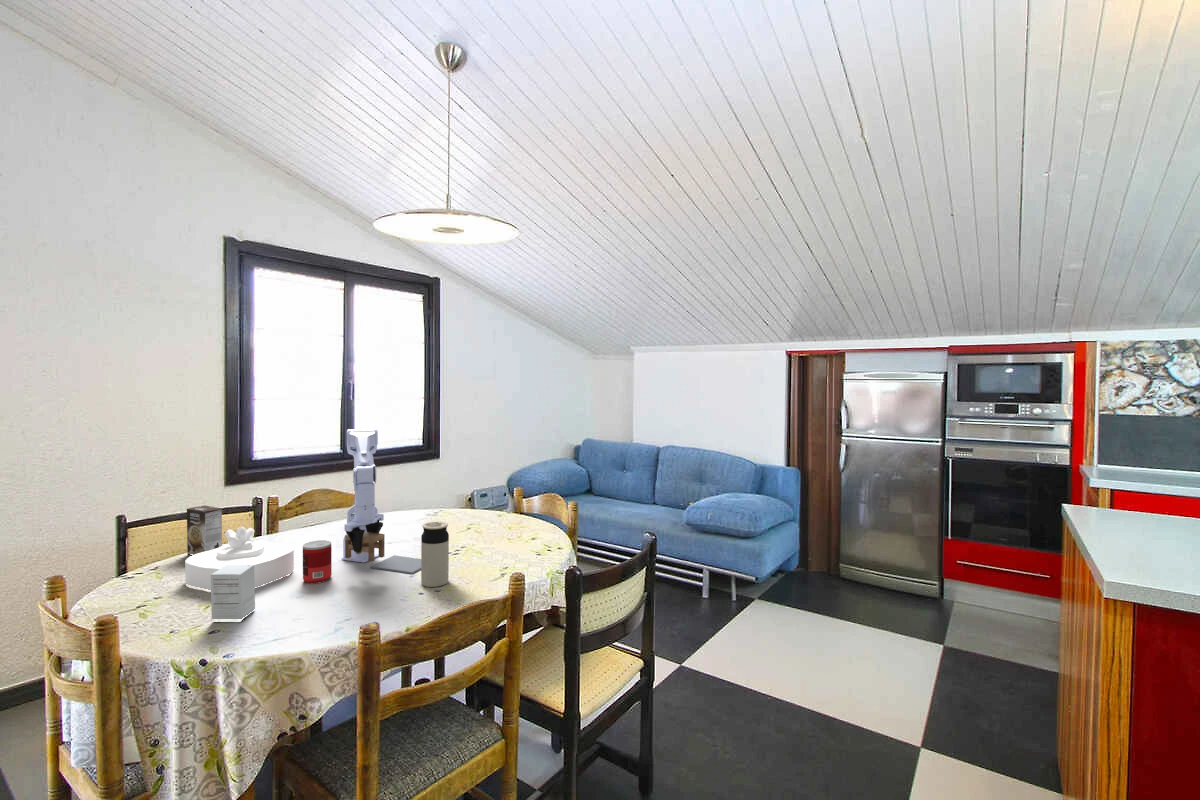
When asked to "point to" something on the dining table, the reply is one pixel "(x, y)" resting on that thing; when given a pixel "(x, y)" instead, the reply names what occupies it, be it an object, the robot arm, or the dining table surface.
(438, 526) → the travel mug
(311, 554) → the canned food
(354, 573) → the dining table surface
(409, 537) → the dining table surface
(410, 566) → the mat
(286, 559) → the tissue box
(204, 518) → the coffee box
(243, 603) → the supplement box
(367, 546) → the stool
